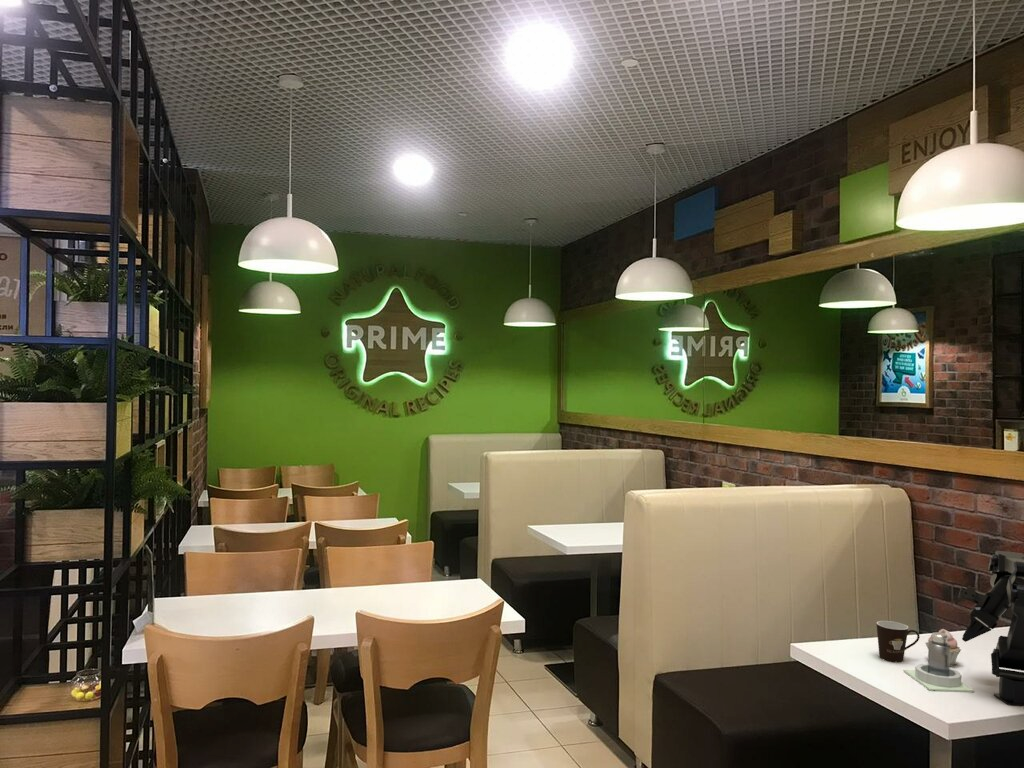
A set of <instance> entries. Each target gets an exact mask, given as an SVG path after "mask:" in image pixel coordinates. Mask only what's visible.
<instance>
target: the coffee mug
mask: <svg viewBox="0 0 1024 768" xmlns="http://www.w3.org/2000/svg"><path fill="white" fill-rule="evenodd" d="M876 632H877V633H876V634H877V635H876V636H877V644H878V655H879V658H880V659H881V660H883V659H884V660H883V661H886V662H889V661H891V662H890V663H902V661H903V662H904V658H905V652H906V651H907V650H908V649H909V648H911V647H913V646H914V645H916V644H917V643H918V642H919V640H920V638H921V636H920V633H919V632H918V631H917V630H914V629H909V626H908V625H907V624H904V623H901V622H897V621H891V620H879V621H876ZM911 633H915V634H916V636H917V637H916V639H915V640H914V641H913V642H912V643H911V644H908V645H907V639H908V638H907V637H908V635H909V634H911ZM906 645H907V646H906Z"/></svg>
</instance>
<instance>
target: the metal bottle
mask: <svg viewBox="0 0 1024 768" xmlns="http://www.w3.org/2000/svg"><path fill="white" fill-rule="evenodd" d="M931 635H932V641H929V650H927V651H928V655H927V657H928V658H927V663H928V673H930V674H934V675H938V676H946V677H948V676H949V671H950V668H951V666H950V644H948V643H947V638H948V636H947V635H946V634H943V633H937V631H936V632H932V633H931Z"/></svg>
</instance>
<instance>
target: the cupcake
mask: <svg viewBox="0 0 1024 768" xmlns="http://www.w3.org/2000/svg"><path fill="white" fill-rule="evenodd" d="M936 632H937V631H936ZM937 633H943V634H946V635H947V636H948V638H947V643H948V644H950V667H952V666H954V665H956V662H957V659H958V655H959V654H960V653H961V651H962V649H961V648H960V647H959V646H958V641H957V640H956V638H955V637H953V636H954V635H952V633H951V632H950V631H948V630H947V629H944V628H941V629H940V630H938V632H937ZM929 641H932V634H930V637H929V638H928V640H927V641H926V642H925V645H926V647H927V649H928V650H929ZM928 650H927V651H928Z"/></svg>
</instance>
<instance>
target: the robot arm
mask: <svg viewBox="0 0 1024 768" xmlns="http://www.w3.org/2000/svg"><path fill="white" fill-rule="evenodd" d="M987 569H988V571H989V573H990V574H991V577H990V579H989V581H990V582H989V583H990V586H991V589H990V590H988V591H986V592H985V593H981V592H978V591H977V590H976V588H975V587H972V586H970V585H968V587H965V586H960V589H959V593H958V596H957V598H959V599H960V600H961V599H962V600H966V601H968V602H971V603H974V604H975V605H973V607H972V608H971V609H970V613H969V618H970V622H969V623H968V626H967V627H966V629H965V630H964V633H963V634H962V637H961V640H962V641H963V642H965V643H967V642H968V641H971V640H973V639H975V638H977V637H980V636H982V635H984V634H986V633H988V632H991V631H992V630H994V629H995V628H996V627H997V625H998V621H999V619H1001V616H1002V615H1003V614H1004V613H1005V612H1006V611H1007V610H1008V609H1009V608H1011V612H1012V617H1011V621H1010V625H1009V629H1008V632H1007V636H1005V635H1000V636H999V637H998V641H997V643H996V646H995V648H993V650H992V652H991V653H990V659H991V661H990V663H991V674H992V675H994V676H996V678H997V677H998V678H999V682H998V683H999V684H998V686H999V687H998V691H999V692H995V693H993V696H995V697H996V698H997V699H999V700H1000V701H1002V702H1003V703H1005V704H1007V705H1008V704H1009V706H1024V553H1022V552H1012V551H1005V550H1003V551H1002V550H996V551H995V554H992V556H991V557H990V559H989V563H988V568H987Z"/></svg>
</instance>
